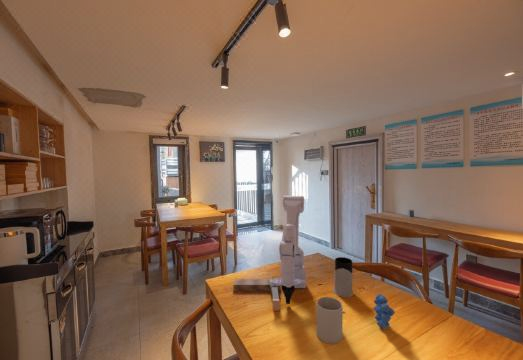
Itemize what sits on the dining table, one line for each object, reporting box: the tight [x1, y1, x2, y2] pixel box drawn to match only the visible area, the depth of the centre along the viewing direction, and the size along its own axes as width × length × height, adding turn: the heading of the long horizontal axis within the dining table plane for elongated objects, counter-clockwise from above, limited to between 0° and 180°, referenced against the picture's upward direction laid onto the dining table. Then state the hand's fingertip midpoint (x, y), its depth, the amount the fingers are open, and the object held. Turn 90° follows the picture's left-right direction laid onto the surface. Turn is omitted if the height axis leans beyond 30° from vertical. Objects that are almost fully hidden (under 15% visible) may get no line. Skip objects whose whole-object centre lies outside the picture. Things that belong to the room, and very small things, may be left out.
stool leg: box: [270, 286, 281, 312], centre depth 101 cm, size 15×3×4 cm, turn 0°
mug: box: [315, 296, 344, 345], centre depth 81 cm, size 12×8×11 cm
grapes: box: [373, 293, 396, 329], centre depth 83 cm, size 12×7×12 cm, turn 169°
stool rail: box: [232, 277, 281, 292], centre depth 110 cm, size 22×10×5 cm, turn 90°
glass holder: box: [332, 256, 354, 298], centre depth 110 cm, size 9×14×15 cm, turn 158°
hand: (287, 302), depth 97 cm, fingers closed
